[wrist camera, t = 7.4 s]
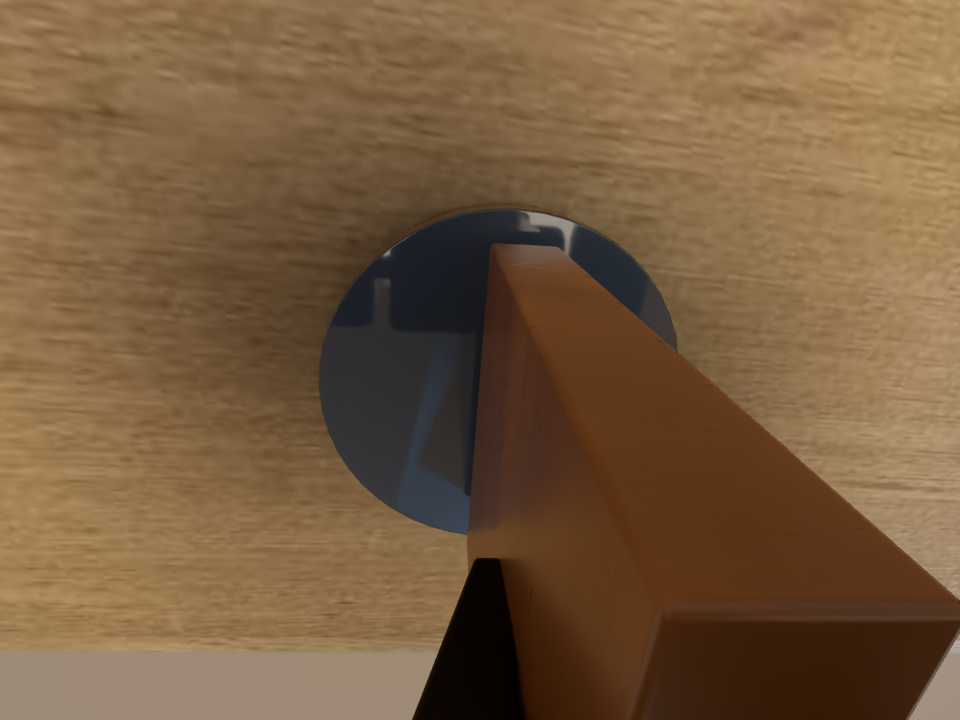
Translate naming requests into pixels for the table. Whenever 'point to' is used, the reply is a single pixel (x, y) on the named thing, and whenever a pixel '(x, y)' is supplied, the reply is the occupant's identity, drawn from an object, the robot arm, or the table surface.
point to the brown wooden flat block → (672, 532)
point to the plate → (441, 349)
